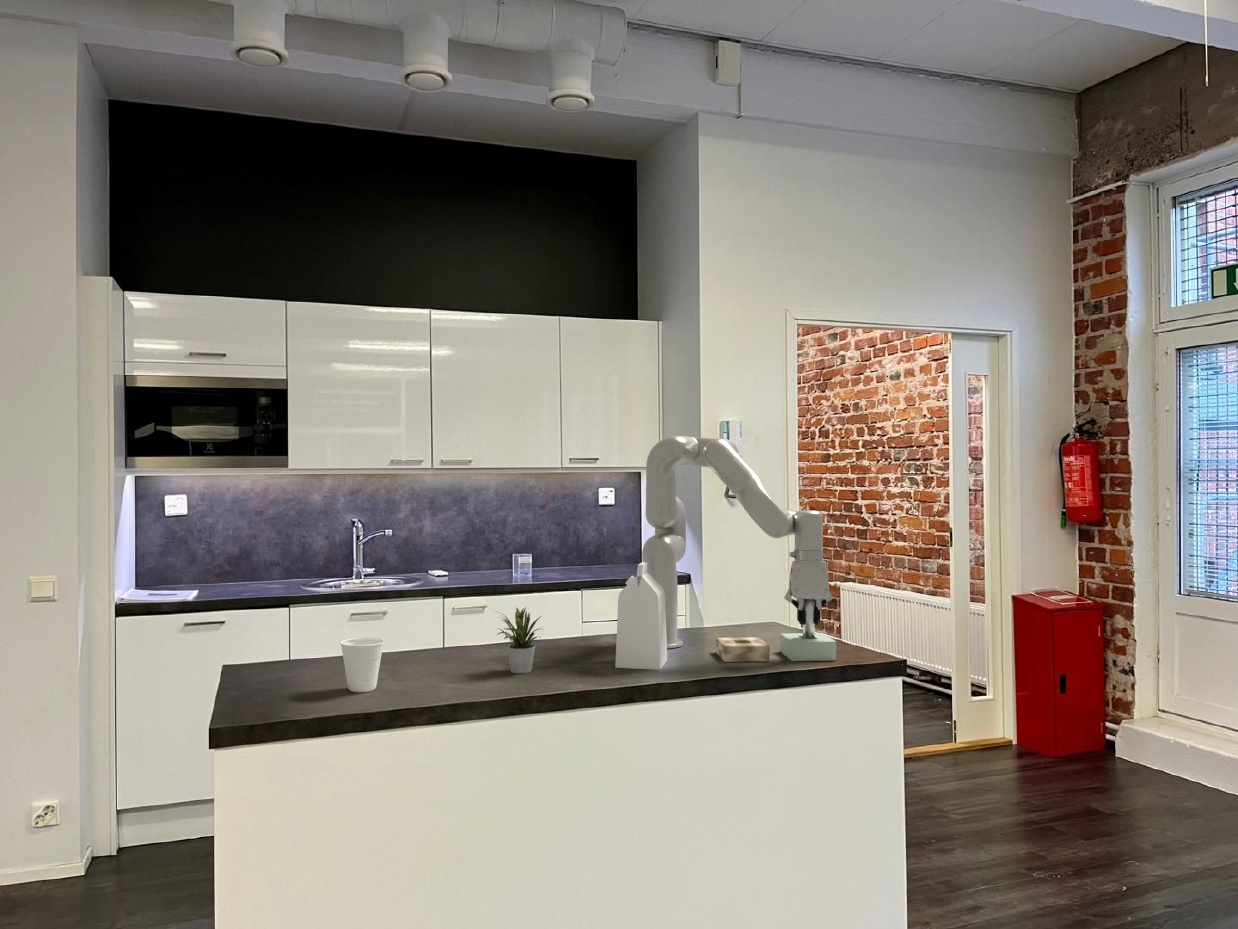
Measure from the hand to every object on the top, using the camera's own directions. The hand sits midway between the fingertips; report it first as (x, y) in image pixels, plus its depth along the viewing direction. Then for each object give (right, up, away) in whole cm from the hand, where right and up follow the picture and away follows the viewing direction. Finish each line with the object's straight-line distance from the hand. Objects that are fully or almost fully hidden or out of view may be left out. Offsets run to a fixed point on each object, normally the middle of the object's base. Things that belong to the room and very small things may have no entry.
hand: (808, 623), depth 260 cm
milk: (-46, -9, -11) cm, 48 cm away
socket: (0, -9, 0) cm, 9 cm away
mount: (-18, -9, -1) cm, 20 cm away
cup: (-110, -9, -40) cm, 118 cm away
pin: (0, -5, 0) cm, 5 cm away
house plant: (-77, -9, -20) cm, 80 cm away
